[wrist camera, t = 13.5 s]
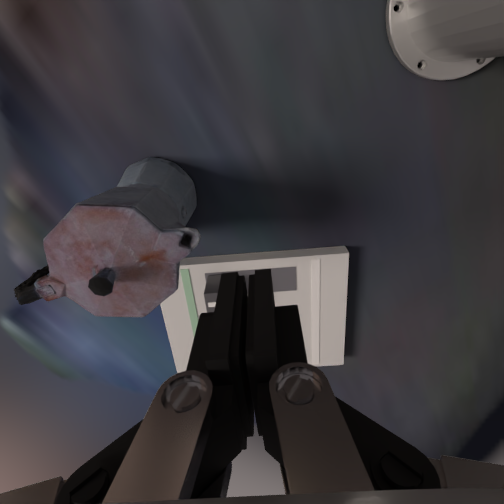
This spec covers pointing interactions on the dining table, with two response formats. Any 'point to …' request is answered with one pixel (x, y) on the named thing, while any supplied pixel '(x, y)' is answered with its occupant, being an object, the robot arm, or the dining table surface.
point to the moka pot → (121, 244)
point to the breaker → (211, 292)
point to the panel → (285, 293)
